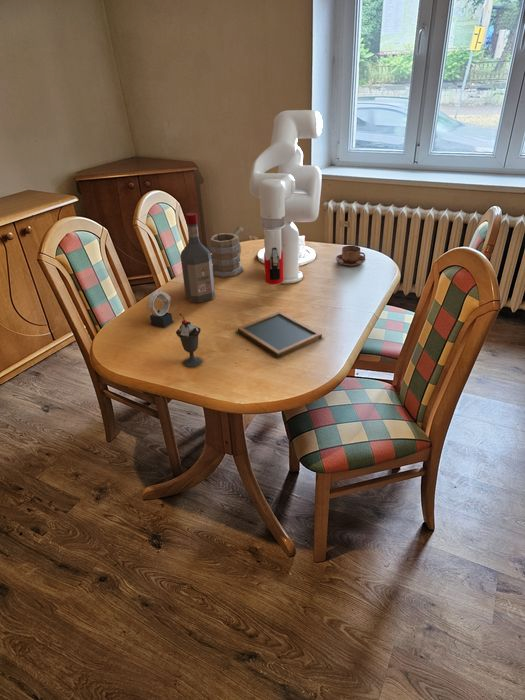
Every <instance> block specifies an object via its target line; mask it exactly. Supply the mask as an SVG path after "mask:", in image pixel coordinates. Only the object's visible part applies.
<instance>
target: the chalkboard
mask: <svg viewBox="0 0 525 700" xmlns="http://www.w3.org/2000/svg"><path fill="white" fill-rule="evenodd" d="M237 333H238V334H240V335H242V336H243V337H245V338H246V339H248V340H249V341H251V342H252V343H254V344H255V345H257V346H258V347H260V348H261V349H263V350H265V351H266V352H268V353H269V354H271V355H272V356H274V357H276V358H277V359H280V358H282V357H284V356H286V355H289V354H291V353H293V352H295V351H298V350H300V349H302V348H304V347H306V346H308V345H310V344H312V343H315V342H318V341H319V340H322V338H323V334H322V333H321V332H319V331H318V330H315V329H314V328H312V327H310V326H309V325H306V324H304V323H302V322H300V321H299V320H297V319H295V318H293V317H291V316H290V315H288V314H286V313H284V312H282V311H280V310H279V311H276V312H273V313H271V314H268V315H266V316H264V317H261V318H259V319H256V320H254V321H251V322H248V323H245V324H243V325H241V326H238V327H237Z"/></svg>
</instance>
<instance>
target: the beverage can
mask: <svg viewBox="0 0 525 700" xmlns="http://www.w3.org/2000/svg"><path fill="white" fill-rule="evenodd" d="M271 259H273V257H271ZM272 263H273V261H272ZM263 264H264V281H265V283H266V284H267V285H270V286H278V285H281V284H283V283H282V282H283V280H284V268H283V251H282V250H281V259H280V260H279V267H280V279H279V280H270V260H266V258H265V252H264V263H263Z"/></svg>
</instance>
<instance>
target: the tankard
mask: <svg viewBox="0 0 525 700" xmlns="http://www.w3.org/2000/svg"><path fill="white" fill-rule="evenodd" d="M243 231H244V228H243V227H241V226H236V228H235V229H234V231H233V232H232V233H229V232H225V233H217V234H214V235H212V236H210V237H209V239H210V240H209V241H210V242H209V243H208V245H209V247H208V248H209V251H210V253H211V259H212V269H213V276H216V277H219V278H227V277H234V276H237V275H239V274H240V273H242V272H243V265H241V264H242V263H241V253H242V246H241V243H240V237H239V234H240V233H243Z"/></svg>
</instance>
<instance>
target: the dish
mask: <svg viewBox="0 0 525 700" xmlns="http://www.w3.org/2000/svg"><path fill="white" fill-rule="evenodd" d="M264 252H265V247H263V248H262V249H260V250H259V251H258V253H257V258H258V261H259V262H261V263H262V264H264ZM316 254H317V253H316V251H315V249H313V248H311V247H309V246H307V245H306V235H299V267H301V266H304V265H306V264H310V263H312V262H313V261H314V260H315V258H316Z"/></svg>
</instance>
